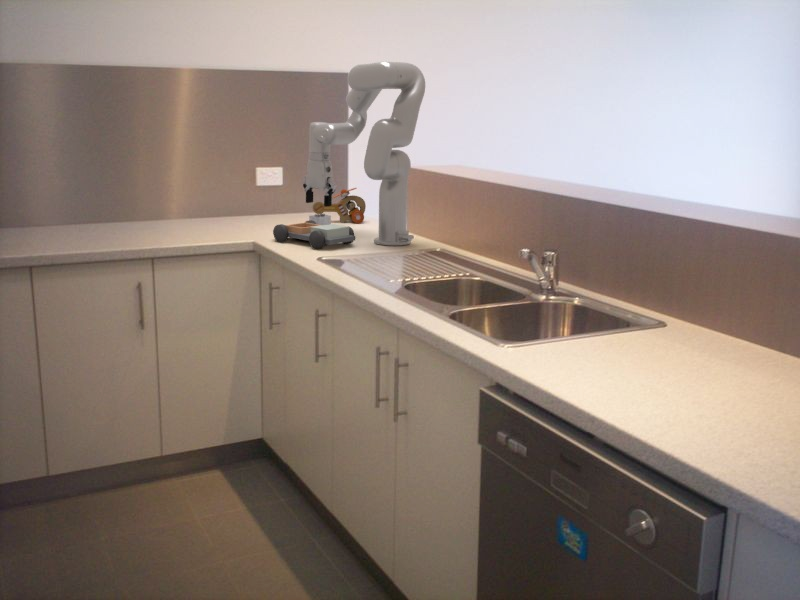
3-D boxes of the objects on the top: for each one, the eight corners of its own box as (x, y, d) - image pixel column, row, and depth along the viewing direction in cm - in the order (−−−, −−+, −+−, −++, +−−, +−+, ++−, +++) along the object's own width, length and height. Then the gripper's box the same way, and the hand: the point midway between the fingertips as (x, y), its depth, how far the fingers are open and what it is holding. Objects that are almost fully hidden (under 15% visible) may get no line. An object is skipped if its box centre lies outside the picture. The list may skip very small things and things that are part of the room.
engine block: (330, 231, 324) (330, 214, 322) (318, 233, 320) (318, 215, 318) (321, 230, 327) (321, 212, 326) (309, 231, 323) (309, 214, 321)
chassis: (358, 245, 296) (358, 226, 295) (325, 251, 285) (325, 231, 284) (302, 235, 314) (302, 217, 313) (269, 240, 303) (269, 221, 302)
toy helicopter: (366, 223, 344) (367, 188, 341) (313, 224, 340) (313, 188, 337) (363, 220, 352) (363, 186, 349) (311, 221, 348) (311, 186, 345)
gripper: (343, 159, 314) (342, 206, 319) (310, 154, 325) (309, 200, 330) (328, 160, 309) (327, 208, 313) (295, 155, 320) (294, 202, 324)
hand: (318, 204), depth 321 cm, fingers open, 9 cm apart
